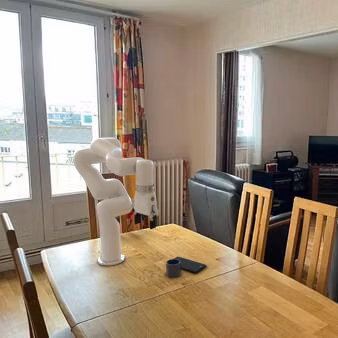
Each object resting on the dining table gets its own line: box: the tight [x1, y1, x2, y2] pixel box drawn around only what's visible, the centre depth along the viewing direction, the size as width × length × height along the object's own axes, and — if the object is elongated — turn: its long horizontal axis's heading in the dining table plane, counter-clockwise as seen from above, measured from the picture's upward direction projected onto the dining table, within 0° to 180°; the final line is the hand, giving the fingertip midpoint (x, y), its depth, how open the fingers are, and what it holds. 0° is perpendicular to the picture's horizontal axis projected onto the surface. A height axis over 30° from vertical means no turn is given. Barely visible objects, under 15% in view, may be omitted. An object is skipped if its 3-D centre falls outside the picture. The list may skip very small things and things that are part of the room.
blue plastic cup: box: [165, 258, 182, 279], centre depth 150 cm, size 7×7×6 cm
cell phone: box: [173, 256, 207, 274], centre depth 159 cm, size 9×18×1 cm, turn 59°
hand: (145, 225), depth 144 cm, fingers open, 9 cm apart
